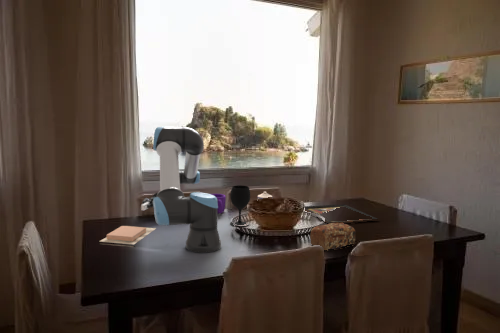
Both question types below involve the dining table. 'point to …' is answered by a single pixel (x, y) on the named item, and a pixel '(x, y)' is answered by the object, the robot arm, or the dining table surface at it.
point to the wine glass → (240, 199)
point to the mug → (220, 202)
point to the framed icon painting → (330, 208)
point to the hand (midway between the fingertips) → (142, 207)
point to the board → (148, 230)
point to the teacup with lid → (264, 195)
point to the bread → (332, 235)
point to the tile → (126, 233)
